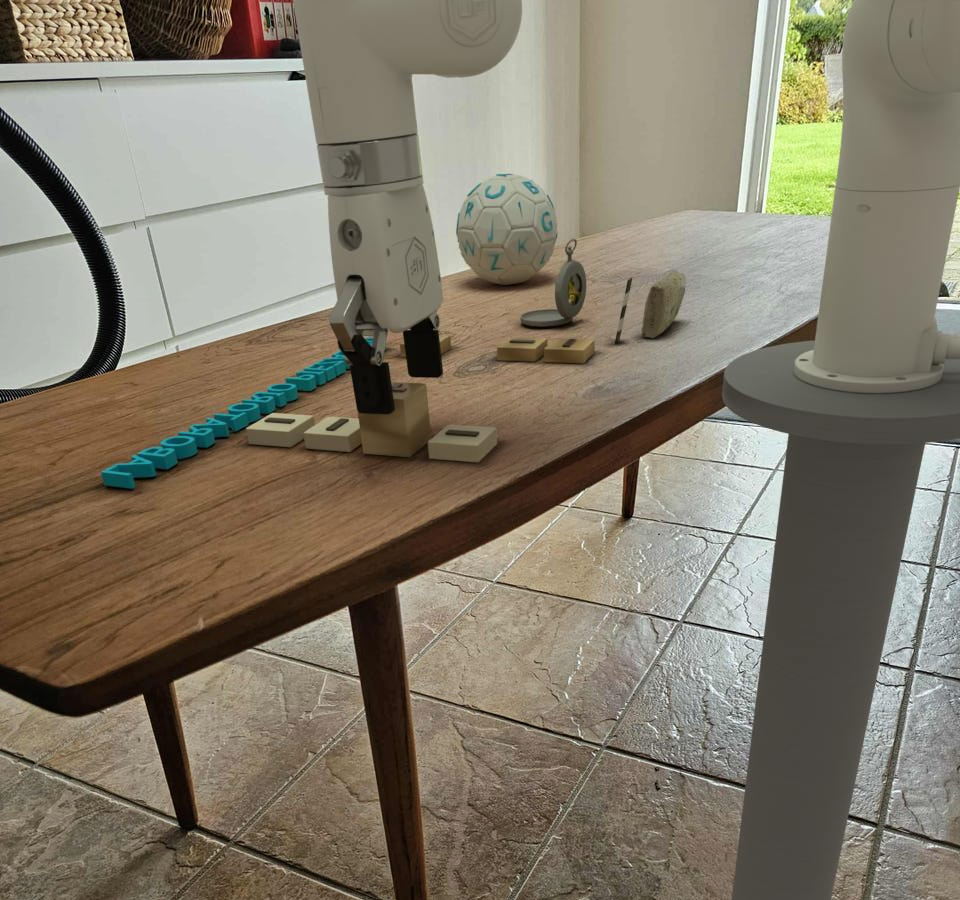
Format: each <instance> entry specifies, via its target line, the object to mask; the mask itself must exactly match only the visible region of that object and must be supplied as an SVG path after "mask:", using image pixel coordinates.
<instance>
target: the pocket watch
mask: <svg viewBox="0 0 960 900" xmlns="http://www.w3.org/2000/svg"><path fill="white" fill-rule="evenodd" d="M572 242H574V246H573V247H572V246H571V245H570V244H571V243H572ZM577 244H578V241H577V239H575V238H571V239H570V240H568V242H567V243H566V245H565V248H564V251H565V252H564V253H565V254H566V256H567V261H565V262H563V264H562V266H561V268H560V269H559V271H558V274H557V276H556V280H555V285H554V301H555V306H556V308H547V309H546V308H545V309H536V310H530V311H527V312H524V313H522V314H520V317H519V318H520V319H519V320H520V322H521V323H522V324H523V325H526V326H529V327H536V328H541V327H542V328H547V327H548V328H550V327H551V328H552V327H557V326H561V325H565V324H567V323H570V322H571V321H573V319H574V318H575V317H576V316H578V314H579V313H581V310H582V309H583V306H584V303H585V300H586V295H587V275H586V270H585V268H584V266H583V264H582V263H581V262H580V261H577V260H576V259H573V258H572V257H573V256H572V255H574V251H575V250H576V248H577Z"/></svg>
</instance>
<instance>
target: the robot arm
mask: <svg viewBox="0 0 960 900" xmlns="http://www.w3.org/2000/svg"><path fill="white" fill-rule="evenodd" d="M292 2H293V3H292V4H293V10H294V16H295V22H296V28H297V34H298V40H299V47H300V53H301V59H302V65H303V72H304V77H305V82H306V89H307V94H308V95H307V96H308V101H309V107H310V113H311V120H312V126H313V131H314V132H313V133H314V136H315V143H316V144H317V145H316V151H317V156H318V161H319V162H318V163H319V169H320V174H321V182H322V187H323V192H324V195H325V196H327V215H328V217H327V218H328V231H329V244H330V245H329V246H330V255H331V263H332V272H333V280H334V281H333V282H334V286H335V292H336V299H337V301H336V303H335V305H334V306H333V308H332V310H331V312H330V314H329V317H328V318H329V319H328V323H329V325H330V327H331V330H332V332H333V333H334V336H335V338H336V340H337V346H338V349H339V351H341V352H342V353H343V354H344V355H345V356H344V357H345V362H346V364H347V365H350V369H349V371H350V376H351V383H352V387H353V394H354V401H355V407H356V411H357V410H358V411H357V413H358V412H359V413H363V414H391V413H392V412H394V410H395V405H394V398H393V391H392V384H391V382H392V377H391V371H390V365H389V362H386V361H383V360H384V355H385V352H386V351H385V350H386V349H385V347H386V344H387V340H388V339H387V338H388V334H389V331H390V333H392V334H401V333H402V337H403V342H404V346H405V353H406V357H405V360H406V361H405V362H406V367H407V373H408V376H409V377H410V378H419V379H420V378H425V379H426V378H427V379H428V378H429V379H439V378H440V377H442V376H443V374H444V367H443V360H442V359H443V357H442V354H441V349H440V340H439V335H440V332H439V331H440V330H439V327H440V324H441V323H440V316H439V314H438V313H437V312H438V310H439V309H440V308H441V306H442V305H443V301H444V292H443V284H442V276H441V270H440V269H441V268H440V262H439V256H438V255H439V254H438V249H437V244H436V243H437V242H436V236H435V231H434V225H433V220H432V216H431V210H430V207H429V203H428V198H427V195H426V191H425V187H424V175H423V165H422V158H421V157H422V156H421V148H420V140H419V139H420V138H419V134H418V131H419V129H418V122H417V114H416V113H417V112H416V104H415V95H414V86H413V75H433V76H437V77H441V78H447V79H449V78H450V79H451V78H452V79H453V78H462V79H463V78H469V77H470V78H471V77H475V76H478V75H481V74H484V73H486V72H488V71H491V70H492V69H493V68H495V67H496V66H497V65H499V63H501V62H502V61H503V60H504V58H505V57H507V55H508V54H509V52H510V51H511V50H512V48H513V46H514V44H515V42H516V40H517V39H518V35H519V32H520V29H521V23H522V19H523V18H522V17H523V0H292ZM848 11H849V12H848V14H847V18H846V22H845V26H844V30H843V38H842V49H841V50H842V52H841V53H842V54H841V68H842V97H843V98H842V127H841V138H840V148H839V156H838V157H839V158H838V164H837V173H836V181H835V185H834V191H833V192H834V194H833V201H832V208H831V215H830V223H829V231H828V239H827V247H826V254H825V255H826V256H825V262H824V269H823V279H822V284H821V291H820V299H819V306H818V307H819V308H818V315H817V323H816V330H815V338H814V340H815V345H814V350H811V351H808V352H805V353H803V354H801V355H800V356H798V357H797V358H796V360H795V364H794V374H795V375H796V376H797V377H798V378H799V379H800V380H802V381H803V382H805V383H808V384H811V385H813V386H817V387H820V388H824V389H830V390H835V391H842V392H850V393H866V394H886V393H901V392H909V391H915V390H920V389H923V388H927V387H929V386H932V385H934V384H936V383H937V382H938V381H940V380H941V378H942V375H943V370H944V365H943V363H944V361H945V359H960V333H955V334H952V333H951V334H949V333H943V330H939V329H938V321H937V317H935V316H936V311H937V305H938V301H939V295H940V290H941V286H942V281H943V275H944V269H945V266H946V265H945V264H946V260H947V259H946V258H947V255H948V250H949V249H948V248H949V245H950V239H951V234H952V229H953V225H954V219H955V215H956V210H957V205H958V204H957V203H958V199H959V194H960V0H853V1H852V3H851V6H850V9H849V10H848ZM365 337H373V340H372V346H370V344H369V343H368V342H367V341H366V340H365Z"/></svg>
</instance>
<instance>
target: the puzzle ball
mask: <svg viewBox="0 0 960 900" xmlns="http://www.w3.org/2000/svg"><path fill="white" fill-rule="evenodd" d="M466 196H467V197H466V198H465V199H464V201H463V203H462V205H461V207H460V210H459V212H458V213H457V220H456V231H455V234H456V240H457V243H458V248H459V251H460V255H461V257H462V258H463V260H464V262H465V264H466V266H467V267H469V268H470V270H472V271H473V272H474V273H475V275H476V276H479V277H480V278H481V279H483V280H485V281H488V282H489V283H493V284H497V285H503V286H509V285H516V284H522V283H525V282H528V281H529V280H530V279H532V278H533V277H534V276H536V275H537V274H538V273H539V272H540V271H541V270H542V269H543V268H544V267H545V266H546V265H547V264H548V263H549V261H550V259H551V257H552V256H553V253H554V250H555V245H556V242H557V239H558V233H559V232H558V221H557V214H556V210H555V207H554V203H553V201H552V199H551V198H550V196H549V195H548V194H547V193H546V192H545V190H544V188H542V187H541V186H540V185H539V184H537V183H536V182H534V181H533V179H530V178H528V177H526V176H522V175H519V174H514V173H496V174H495V175H492V176H491V177H490V178H486V179H484V180H483V181H481V182H480V183H478V184H477V185H476V186H475V187H474V188H472V190H471V191H469V193H468V194H467V195H466Z"/></svg>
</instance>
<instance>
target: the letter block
mask: <svg viewBox="0 0 960 900" xmlns="http://www.w3.org/2000/svg"><path fill="white" fill-rule="evenodd" d="M391 384H392V391H393V398H394V405H395V410H394V412H392V413H391V414H363V413H359V412H358V410H357V409H356V411H357V419H359V425H360V432H361V440H362V444H361V446H362V452H363V454H365V455H376V456H387V457H388V456H389V457H399V458H400V457H401V458H411V457H412V456H414V455H415V454H416V453H417V452H419V450H421V449H422V448H423V447H424V446H425V445H428V441H429V440H430V439H432V431H431V422H430V421H431V420H430V411H429V410H430V409H429V400H428V390H427V384H426V383H421V382H402V381H391Z"/></svg>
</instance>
